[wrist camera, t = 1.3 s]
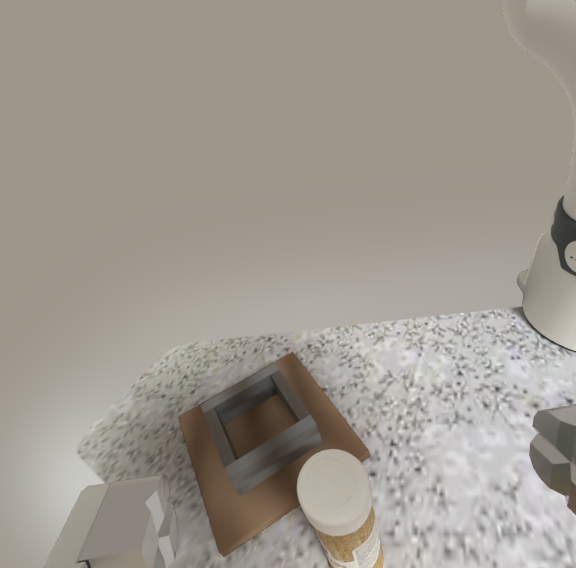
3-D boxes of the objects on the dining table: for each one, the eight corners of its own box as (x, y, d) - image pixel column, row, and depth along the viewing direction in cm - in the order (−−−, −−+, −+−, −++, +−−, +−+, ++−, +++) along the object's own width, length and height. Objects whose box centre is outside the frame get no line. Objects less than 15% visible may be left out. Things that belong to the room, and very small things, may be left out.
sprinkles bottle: (318, 555, 31) (280, 483, 23) (353, 512, 33) (330, 432, 25) (359, 607, 28) (332, 544, 20) (396, 556, 30) (385, 480, 22)
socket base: (294, 358, 49) (286, 333, 46) (370, 456, 37) (365, 431, 34) (182, 422, 45) (165, 399, 42) (223, 556, 33) (204, 537, 30)
